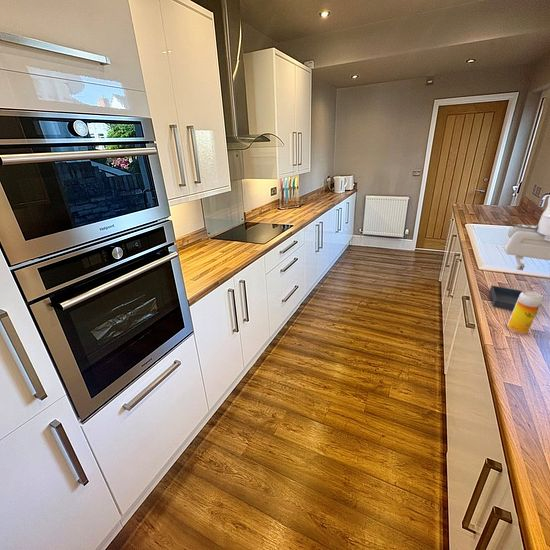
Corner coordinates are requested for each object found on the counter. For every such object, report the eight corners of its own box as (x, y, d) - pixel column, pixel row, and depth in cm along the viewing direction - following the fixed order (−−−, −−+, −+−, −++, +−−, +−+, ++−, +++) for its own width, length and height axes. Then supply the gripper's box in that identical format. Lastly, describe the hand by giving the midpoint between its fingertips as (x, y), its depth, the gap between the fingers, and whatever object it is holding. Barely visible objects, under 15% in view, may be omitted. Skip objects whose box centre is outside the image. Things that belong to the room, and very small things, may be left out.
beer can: (526, 337, 102) (543, 300, 96) (505, 330, 106) (520, 294, 99) (527, 329, 106) (544, 293, 100) (507, 323, 110) (522, 288, 103)
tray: (519, 297, 128) (522, 290, 126) (526, 313, 116) (529, 307, 114) (489, 291, 133) (491, 285, 131) (493, 306, 121) (495, 300, 119)
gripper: (514, 225, 83) (498, 269, 89) (612, 236, 74) (587, 284, 80) (510, 220, 88) (495, 262, 94) (602, 230, 79) (579, 275, 85)
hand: (538, 272), depth 87 cm, fingers open, 8 cm apart
